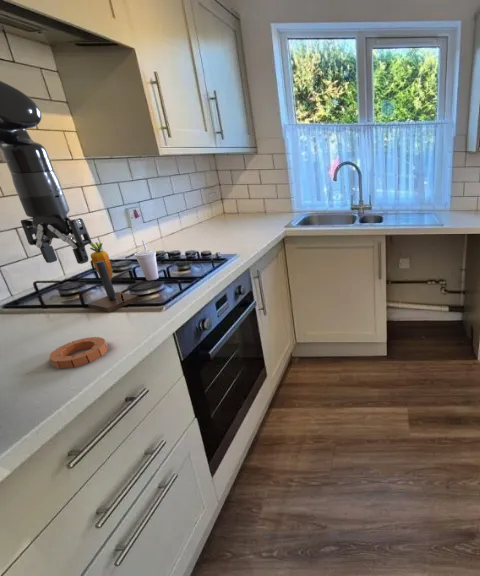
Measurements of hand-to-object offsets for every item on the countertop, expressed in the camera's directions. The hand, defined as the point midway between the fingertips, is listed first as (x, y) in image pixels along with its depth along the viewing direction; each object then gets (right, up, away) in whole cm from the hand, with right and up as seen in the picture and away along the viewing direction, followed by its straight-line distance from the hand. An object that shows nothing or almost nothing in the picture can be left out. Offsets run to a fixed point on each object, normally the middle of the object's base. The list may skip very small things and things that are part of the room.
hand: (67, 262), depth 86 cm
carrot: (-20, -5, +39) cm, 44 cm away
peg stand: (-6, -11, +23) cm, 26 cm away
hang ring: (+6, -22, -3) cm, 23 cm away
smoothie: (-7, -3, +42) cm, 43 cm away
